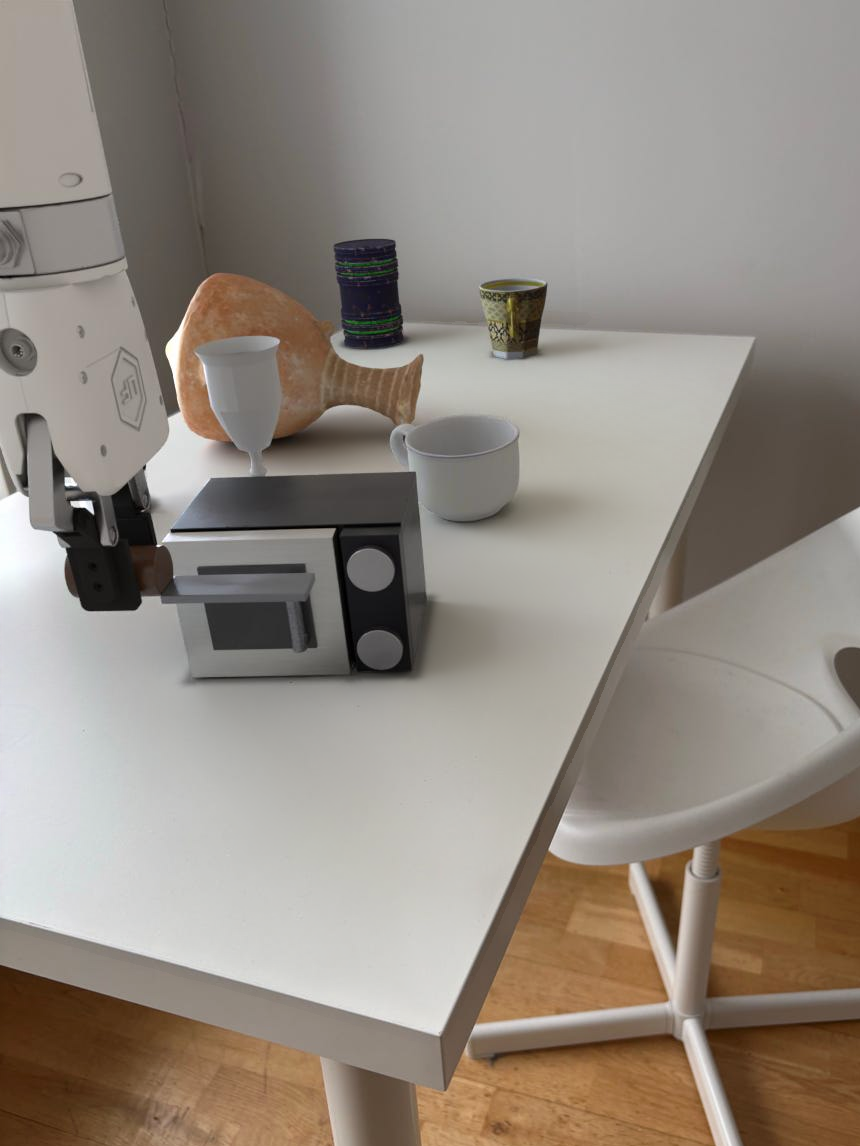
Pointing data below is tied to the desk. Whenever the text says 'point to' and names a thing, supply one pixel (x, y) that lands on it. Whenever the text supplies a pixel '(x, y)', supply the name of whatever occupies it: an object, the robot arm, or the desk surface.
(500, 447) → the teacup
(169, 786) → the desk surface
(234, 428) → the chalice
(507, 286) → the ceramic cup
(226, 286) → the jug
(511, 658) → the desk surface
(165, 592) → the knife
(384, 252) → the storage jar
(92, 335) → the robot arm
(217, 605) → the microwave door
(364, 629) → the microwave
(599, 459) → the desk surface
